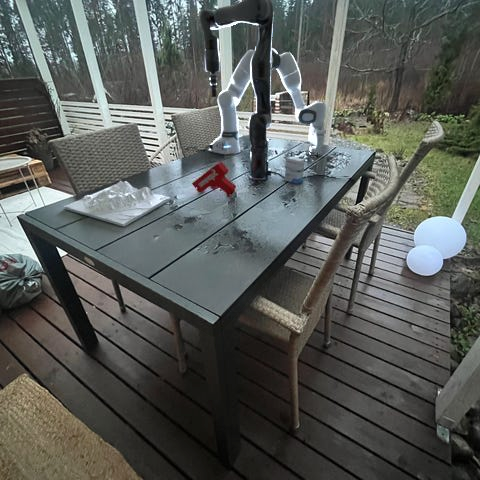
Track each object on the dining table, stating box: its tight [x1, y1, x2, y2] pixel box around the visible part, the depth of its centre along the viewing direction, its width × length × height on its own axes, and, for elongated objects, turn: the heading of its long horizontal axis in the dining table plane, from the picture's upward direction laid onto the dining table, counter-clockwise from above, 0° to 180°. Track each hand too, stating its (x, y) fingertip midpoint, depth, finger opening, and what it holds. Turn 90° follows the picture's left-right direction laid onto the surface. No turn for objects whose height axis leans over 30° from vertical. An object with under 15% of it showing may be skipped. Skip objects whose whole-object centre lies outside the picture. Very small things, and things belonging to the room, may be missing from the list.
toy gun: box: [191, 161, 237, 197], centre depth 128 cm, size 18×4×15 cm
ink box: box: [284, 156, 306, 185], centre depth 140 cm, size 8×5×12 cm, turn 47°
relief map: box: [63, 179, 171, 227], centre depth 119 cm, size 27×35×5 cm
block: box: [308, 145, 319, 156], centre depth 186 cm, size 4×5×5 cm
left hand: (313, 150), depth 186 cm, fingers open, 8 cm apart
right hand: (214, 96), depth 148 cm, fingers open, 8 cm apart
